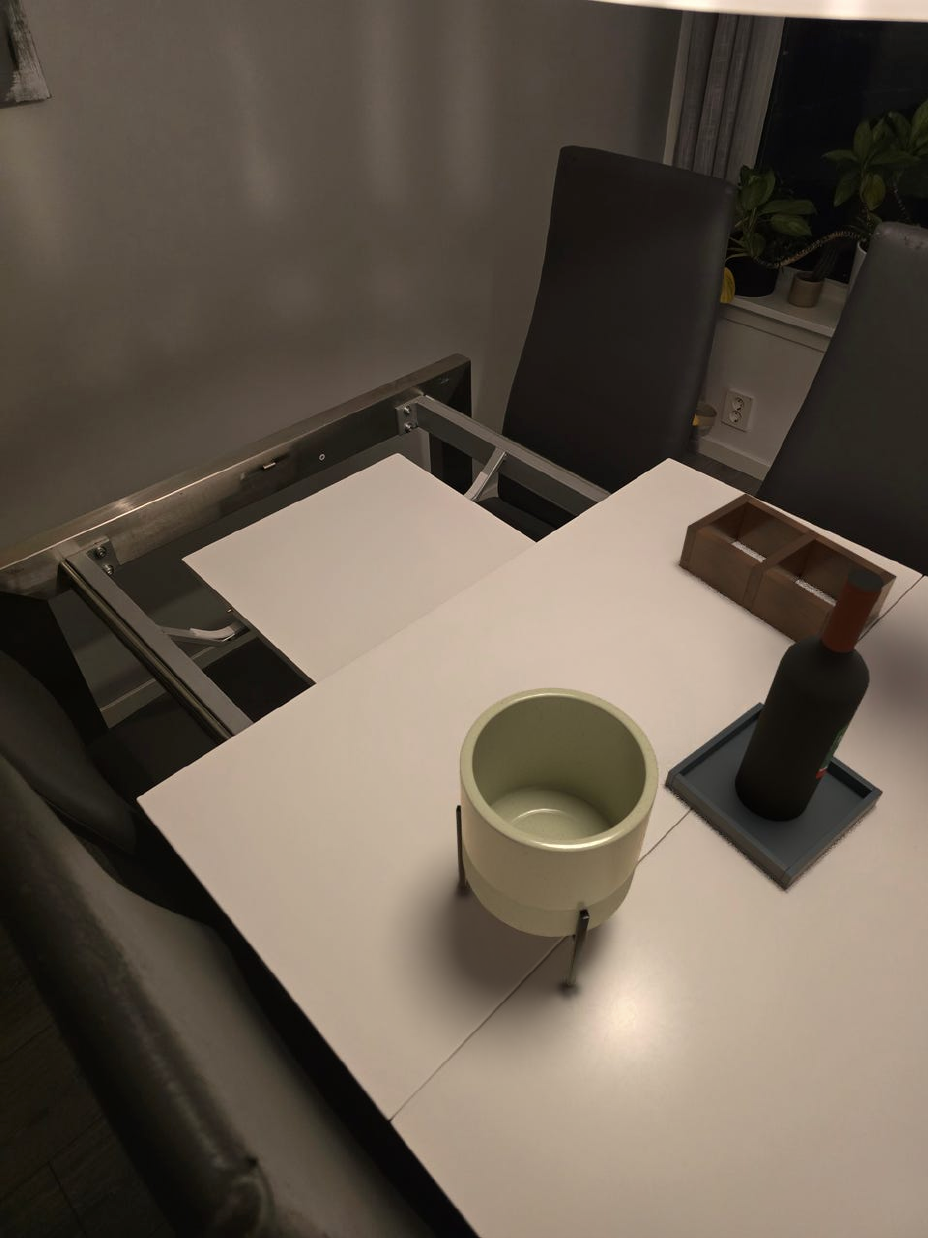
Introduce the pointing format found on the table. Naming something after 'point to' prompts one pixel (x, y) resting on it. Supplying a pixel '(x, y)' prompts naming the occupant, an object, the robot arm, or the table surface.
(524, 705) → the planter
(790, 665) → the wine bottle
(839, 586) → the divided storage box
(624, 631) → the table surface
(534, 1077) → the table surface
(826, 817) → the tray
